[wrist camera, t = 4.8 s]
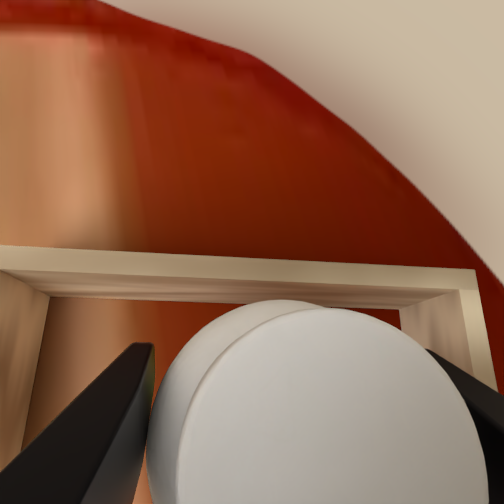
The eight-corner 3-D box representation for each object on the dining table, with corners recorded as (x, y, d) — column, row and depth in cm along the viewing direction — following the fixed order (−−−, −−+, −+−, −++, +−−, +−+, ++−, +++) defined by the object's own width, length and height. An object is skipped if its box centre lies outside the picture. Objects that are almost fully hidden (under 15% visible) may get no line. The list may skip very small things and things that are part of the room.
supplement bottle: (169, 339, 14) (112, 267, 5) (306, 328, 15) (474, 247, 6) (173, 504, 12) (97, 859, 3) (327, 481, 13) (614, 709, 4)
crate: (439, 500, 19) (527, 547, 14) (-16, 515, 17) (-114, 578, 11) (412, 293, 23) (474, 269, 18) (34, 277, 20) (-24, 243, 15)
